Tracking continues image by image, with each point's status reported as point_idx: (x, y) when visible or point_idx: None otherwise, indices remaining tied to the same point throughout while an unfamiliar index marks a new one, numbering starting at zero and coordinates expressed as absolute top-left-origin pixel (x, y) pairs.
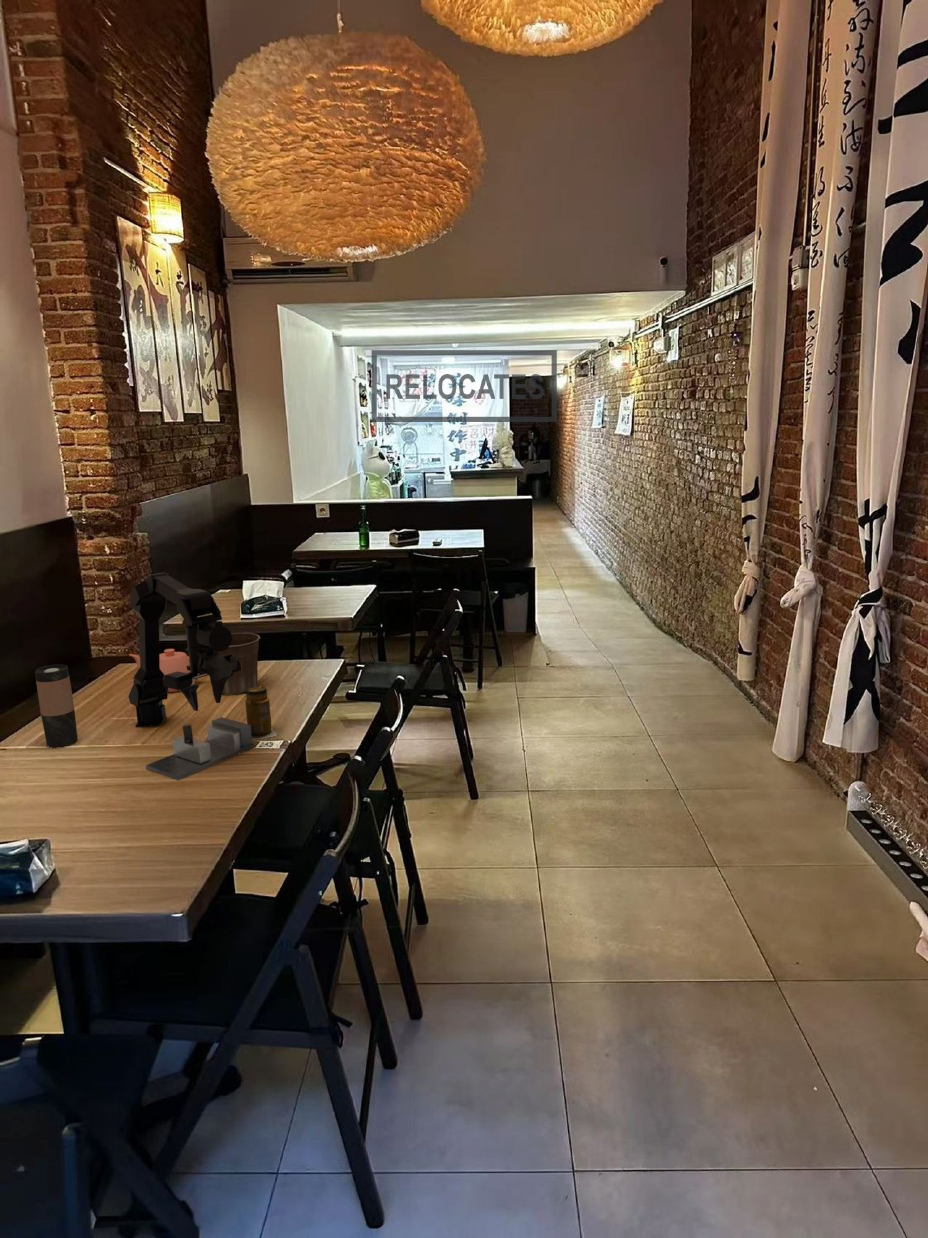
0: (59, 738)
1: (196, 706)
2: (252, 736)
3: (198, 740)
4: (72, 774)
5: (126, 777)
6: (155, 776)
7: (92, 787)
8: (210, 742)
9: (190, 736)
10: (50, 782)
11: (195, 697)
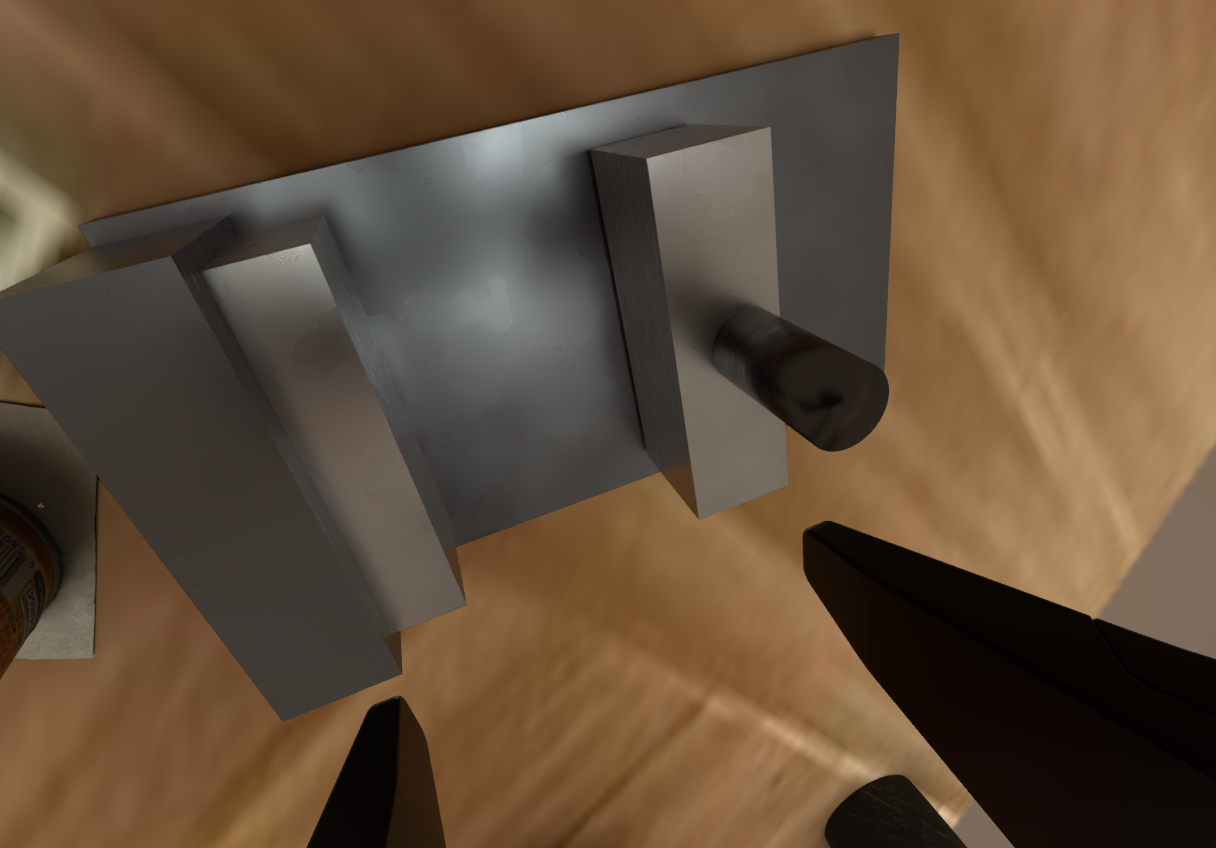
0: (924, 810)
1: (890, 555)
2: (33, 503)
3: (676, 325)
4: (1027, 523)
5: (968, 341)
6: (899, 238)
7: (1091, 331)
8: (443, 505)
9: (783, 329)
10: (1099, 493)
11: (1096, 666)
